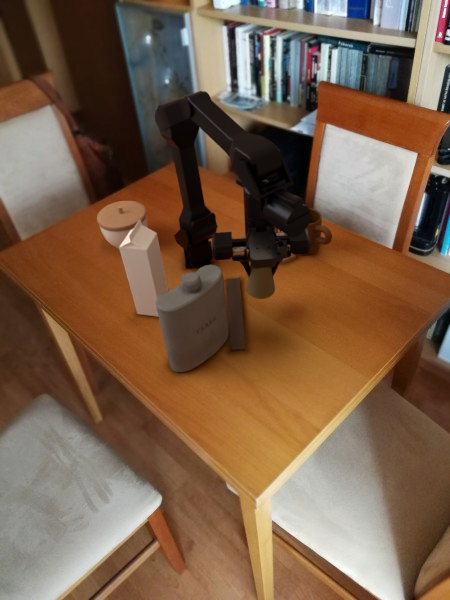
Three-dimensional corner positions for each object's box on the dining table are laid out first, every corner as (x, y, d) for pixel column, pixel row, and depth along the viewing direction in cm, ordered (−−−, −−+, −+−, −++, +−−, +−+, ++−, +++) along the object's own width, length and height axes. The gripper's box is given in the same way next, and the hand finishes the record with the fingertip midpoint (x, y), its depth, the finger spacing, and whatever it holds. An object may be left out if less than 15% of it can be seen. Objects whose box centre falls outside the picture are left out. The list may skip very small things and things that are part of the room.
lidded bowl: (160, 243, 126) (153, 208, 119) (117, 262, 122) (106, 227, 114) (139, 223, 134) (130, 188, 127) (97, 240, 130) (86, 205, 122)
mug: (339, 255, 118) (343, 223, 111) (317, 268, 114) (320, 236, 108) (304, 234, 125) (305, 203, 118) (283, 246, 122) (283, 215, 115)
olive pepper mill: (278, 282, 102) (279, 241, 95) (270, 301, 98) (271, 260, 90) (251, 277, 104) (250, 236, 96) (243, 295, 100) (241, 254, 92)
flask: (184, 379, 93) (168, 306, 79) (165, 364, 96) (146, 291, 83) (236, 336, 100) (230, 262, 87) (217, 323, 104) (208, 250, 90)
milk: (137, 314, 107) (114, 234, 92) (146, 296, 112) (126, 217, 97) (162, 317, 106) (143, 237, 91) (171, 299, 110) (154, 219, 95)
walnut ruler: (230, 351, 97) (230, 349, 97) (227, 281, 113) (226, 278, 113) (245, 350, 97) (245, 348, 97) (239, 280, 113) (239, 277, 113)
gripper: (209, 241, 82) (216, 306, 93) (318, 233, 82) (312, 299, 92) (209, 206, 90) (215, 269, 101) (307, 199, 90) (303, 263, 100)
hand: (260, 275), depth 98 cm, fingers closed on olive pepper mill, 4 cm apart
